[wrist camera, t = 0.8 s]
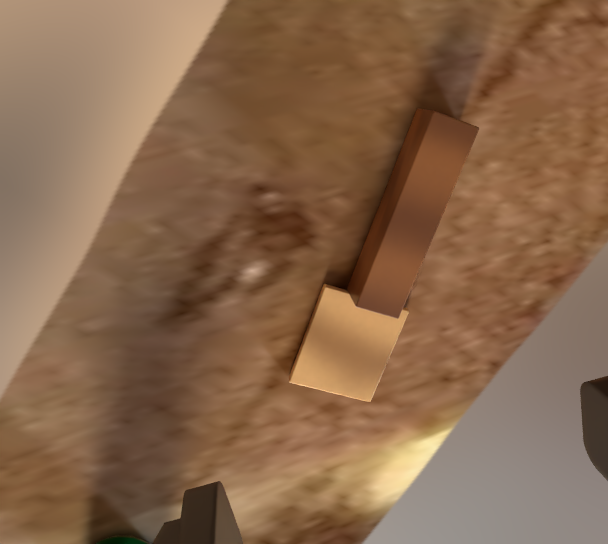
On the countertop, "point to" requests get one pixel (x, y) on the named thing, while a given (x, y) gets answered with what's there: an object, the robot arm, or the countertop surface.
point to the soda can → (122, 540)
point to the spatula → (385, 264)
